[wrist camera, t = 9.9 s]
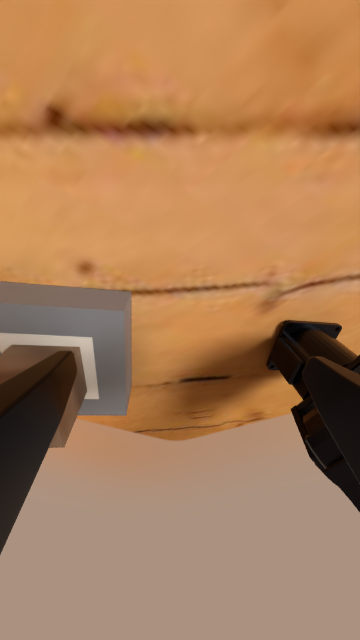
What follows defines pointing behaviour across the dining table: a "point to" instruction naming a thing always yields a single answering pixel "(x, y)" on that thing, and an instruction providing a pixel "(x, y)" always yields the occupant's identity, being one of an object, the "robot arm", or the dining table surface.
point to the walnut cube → (29, 355)
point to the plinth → (76, 334)
